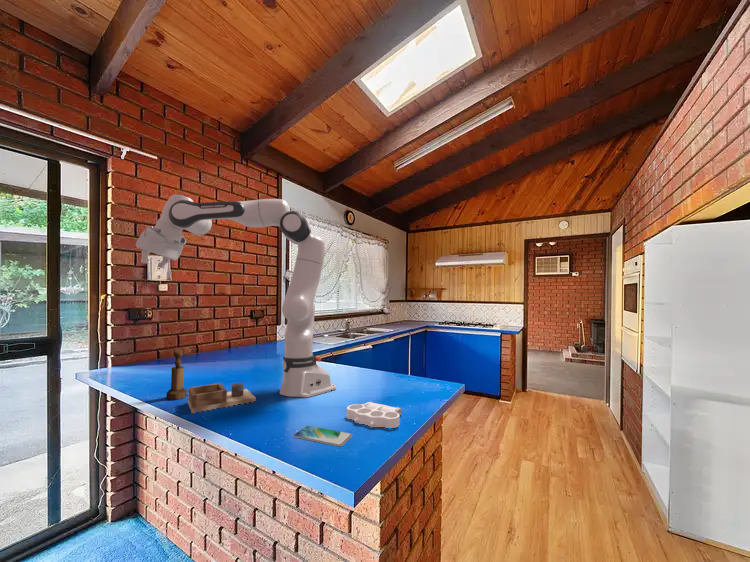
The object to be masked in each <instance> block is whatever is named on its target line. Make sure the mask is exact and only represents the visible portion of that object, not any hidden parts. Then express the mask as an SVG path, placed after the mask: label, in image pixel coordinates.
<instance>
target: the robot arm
mask: <svg viewBox="0 0 750 562" xmlns="http://www.w3.org/2000/svg"><path fill="white" fill-rule="evenodd" d="M306 218H307V217H305V215H303V214H302V213H301V212H299V211H295V210H291V208H290V205H289V203H288V202H287V201H286V200H285V199H281V198H262V199H253V200H243V201H211V202H210V201H207V202H194V200H193V199H192V198H190V197H189V196H186V195H183V194H177V193H175V194H172V195H171V196H170V197H169V198H168V199H167V200H166V202H165V204H164V206H163V208H162V210H161V215H160V217H159V218H158V219H157V221H156V224H155V226H153V225H150V226H147V227H146V228H145V230H143V231H142V232H141V233H140V236H139V237H138V238H137V240H136V243H135V247H136V248H137V249H140V250H141V253H140V254H141V259H140V262H141V263H143V264H149V261H150V259H149V255H150V254H151V253H152V254H156V255H158V256H161V257H162V261H160V262H158V264H157V268H161V269H164V268H165V267H166V265H167V264H169V262H170V261H171V260H173V261H177V260H178V259H179V258H180V257H181V253H182V251H183V249H184V245H186V243H187V239H186V238H185V237H184V235H183V234H182V233H183V231H184V230H185V231H188V232H190V233H191V234H193V235H196V236H204V235H206V234H208V233H209V232H210V231H211V230H212V227H213V221H212V220H229V221H232V222H236V223H238V224H240V225H243V226H244V227H247V228H266V227H272V226H273V227H279V228H280V231H281V233H282V234H283V236H284V237H285V238H286V240H288V241H290V242H291V243H292V244H294V245H297V255H296V259H295V262H294V268H293V272H292V275H291V279H290V282H289V285H288V288H287V291H286V294H285V296H284V301H283V304H282V307H281V311H282V315H283V316H284V318H285V319H286V320H287V322H286V330H285V335H284V356H283V359H282V360H283V361H282V371H283V375H282V381H281V382H282V383H281V385H280V390H279V394H280V395H281V396H285V397H290V398H292V397H293V398H294V397H295V398H297V397H298V398H310V397H313V396H317V395H321V394H325V393H328V392H332V391H335V390H337V386H336V384H335V383H333V382H331V380H332V379H331V376H330V374H329V372H328V371H327V370H326V369H324V368H323V367H321V366H320V365H319V364H317V362H319V363H320V362H321V356H318V355H314V354H313V353H314V352H313V350H314V349H313V348H314V347H313V344H314V342H313V341H314V325H315V313H316V312H315V307H316V306H315V302H314V300H315V297H316V294H317V290H318V287H319V283H320V281H321V275H322V270H323V265H324V262H325V261H324V260H325V253H326V251H325V250H326V243H325V241H324V239H322V237H320V236H318V235H315V234H312V229H311V227H310V223H309V221H308V219H306ZM331 390H332V391H331Z"/></svg>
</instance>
